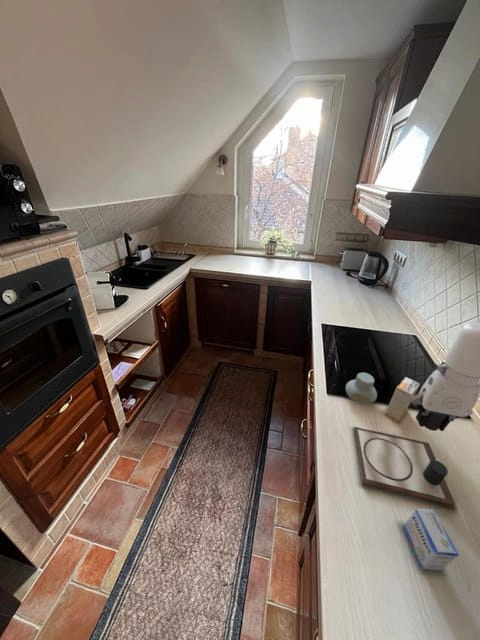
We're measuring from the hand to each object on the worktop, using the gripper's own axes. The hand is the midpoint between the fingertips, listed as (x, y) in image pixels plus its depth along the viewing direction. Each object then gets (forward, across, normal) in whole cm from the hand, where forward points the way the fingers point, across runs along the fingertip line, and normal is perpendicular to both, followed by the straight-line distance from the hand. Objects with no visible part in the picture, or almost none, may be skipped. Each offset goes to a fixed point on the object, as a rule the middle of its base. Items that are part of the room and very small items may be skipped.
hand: (429, 424), depth 69 cm
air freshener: (+16, -11, +22) cm, 29 cm away
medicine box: (+15, -4, -23) cm, 28 cm away
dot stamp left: (0, 0, 0) cm, 0 cm away
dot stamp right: (+14, +3, -6) cm, 15 cm away
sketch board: (+15, -4, -3) cm, 16 cm away
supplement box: (+15, +1, +18) cm, 24 cm away
